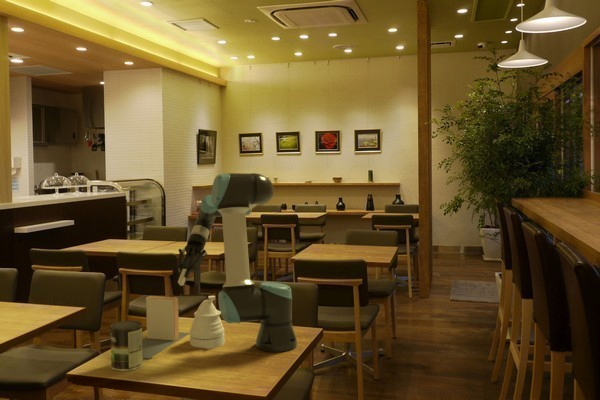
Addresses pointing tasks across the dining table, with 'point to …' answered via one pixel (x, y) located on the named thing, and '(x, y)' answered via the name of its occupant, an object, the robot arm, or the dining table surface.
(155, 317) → the tile
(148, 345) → the mat
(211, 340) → the honey pot
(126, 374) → the dining table surface
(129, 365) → the coffee can
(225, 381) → the dining table surface
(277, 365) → the dining table surface
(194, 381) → the dining table surface
